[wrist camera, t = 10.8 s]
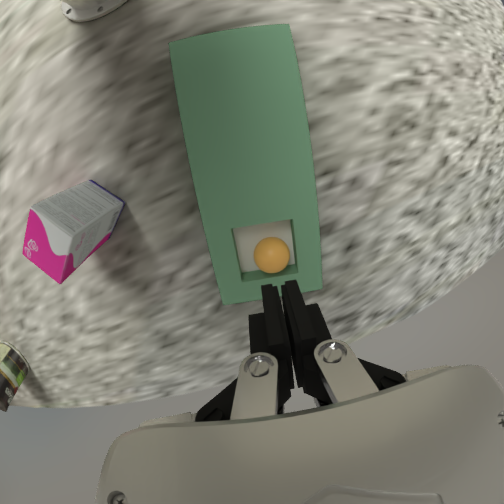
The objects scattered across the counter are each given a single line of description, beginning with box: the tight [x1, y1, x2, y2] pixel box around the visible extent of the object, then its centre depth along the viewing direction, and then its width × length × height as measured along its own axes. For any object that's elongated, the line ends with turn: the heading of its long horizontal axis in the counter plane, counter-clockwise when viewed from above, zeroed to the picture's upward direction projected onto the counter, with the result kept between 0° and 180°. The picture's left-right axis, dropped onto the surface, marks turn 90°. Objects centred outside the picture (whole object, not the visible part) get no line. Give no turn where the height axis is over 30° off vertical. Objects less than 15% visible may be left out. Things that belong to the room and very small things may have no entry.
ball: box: [254, 237, 290, 273], centre depth 30 cm, size 4×4×4 cm
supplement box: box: [23, 180, 125, 284], centre depth 24 cm, size 6×6×12 cm
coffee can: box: [0, 341, 30, 412], centre depth 35 cm, size 10×10×14 cm
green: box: [168, 24, 322, 305], centre depth 27 cm, size 30×12×2 cm, turn 9°
